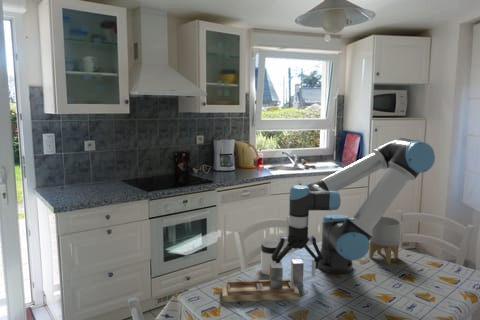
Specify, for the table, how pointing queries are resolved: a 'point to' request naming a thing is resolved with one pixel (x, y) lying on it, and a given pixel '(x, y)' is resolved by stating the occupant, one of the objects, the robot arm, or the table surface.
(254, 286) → the light wooden long frame
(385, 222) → the planter
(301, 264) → the grey rectangular prism
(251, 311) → the table surface
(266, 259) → the jar
